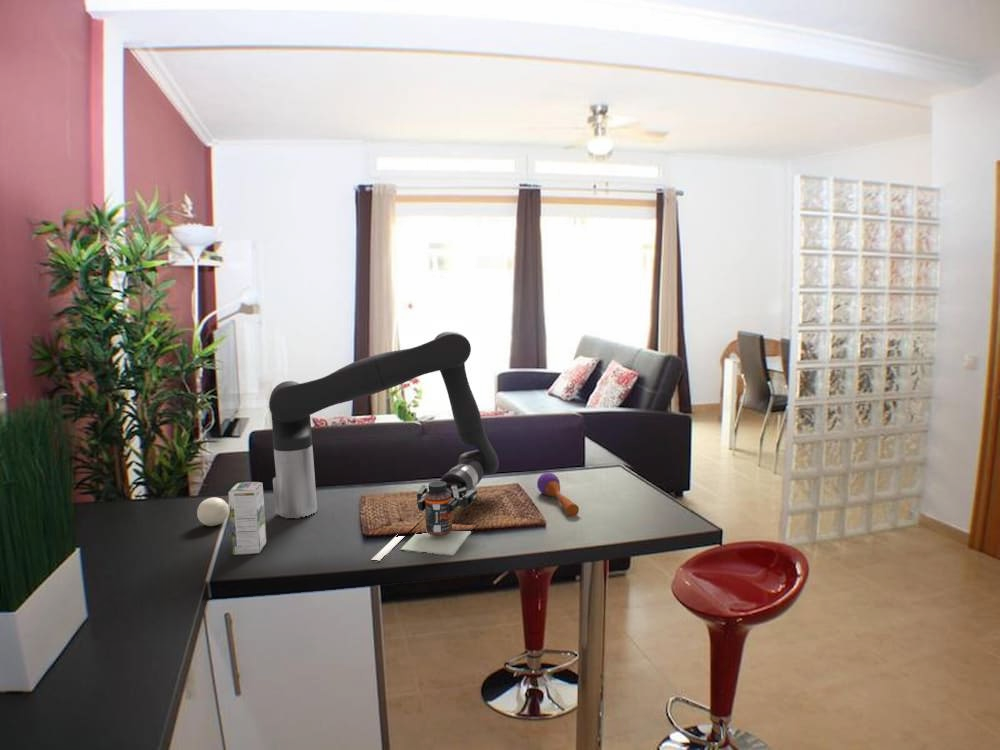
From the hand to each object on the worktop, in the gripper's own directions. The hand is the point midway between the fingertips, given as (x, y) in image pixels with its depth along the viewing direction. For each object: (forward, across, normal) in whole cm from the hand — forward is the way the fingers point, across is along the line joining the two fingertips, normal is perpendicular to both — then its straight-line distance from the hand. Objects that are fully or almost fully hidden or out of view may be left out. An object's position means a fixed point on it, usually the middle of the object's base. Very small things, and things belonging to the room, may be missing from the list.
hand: (434, 507), depth 144 cm
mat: (-2, 0, +8) cm, 8 cm away
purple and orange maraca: (-30, +22, +9) cm, 38 cm away
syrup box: (+12, -39, +8) cm, 42 cm away
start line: (+1, -9, +8) cm, 12 cm away
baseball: (+1, -57, +8) cm, 58 cm away
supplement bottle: (-2, 0, +7) cm, 7 cm away
